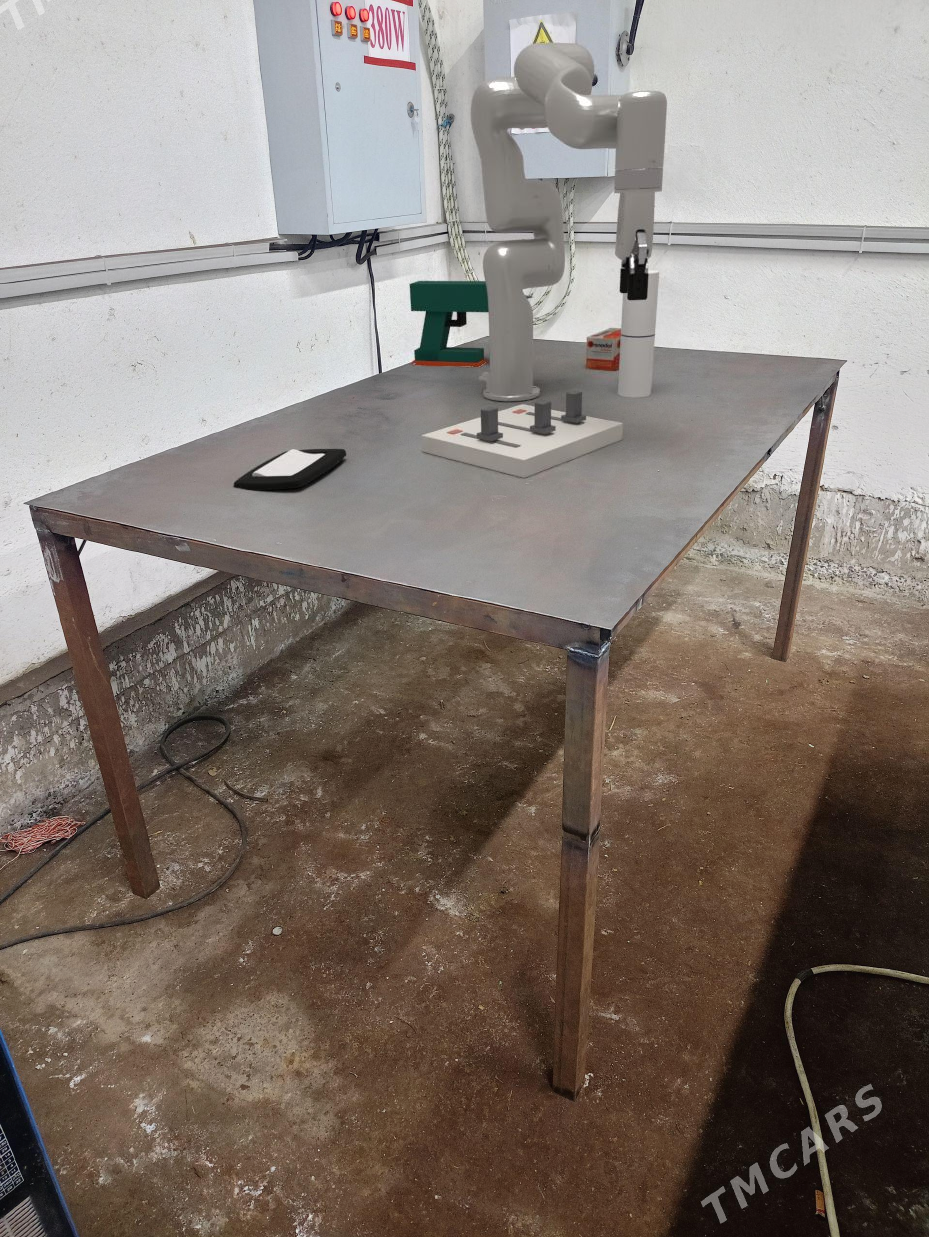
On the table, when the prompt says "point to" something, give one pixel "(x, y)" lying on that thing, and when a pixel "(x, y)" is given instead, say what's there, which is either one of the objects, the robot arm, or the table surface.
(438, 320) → the power tool
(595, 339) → the medicine box
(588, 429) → the breaker panel
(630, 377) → the cylindrical container
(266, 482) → the light switch
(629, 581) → the table surface
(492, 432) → the breaker
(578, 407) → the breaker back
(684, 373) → the table surface
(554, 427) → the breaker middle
